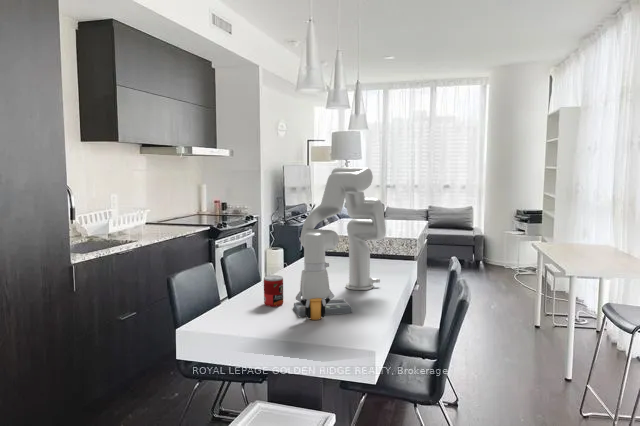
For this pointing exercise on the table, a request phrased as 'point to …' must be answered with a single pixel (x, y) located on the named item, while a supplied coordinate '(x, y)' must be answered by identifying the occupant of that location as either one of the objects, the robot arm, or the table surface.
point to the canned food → (273, 290)
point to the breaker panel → (327, 307)
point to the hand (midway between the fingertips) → (315, 316)
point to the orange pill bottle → (315, 308)
